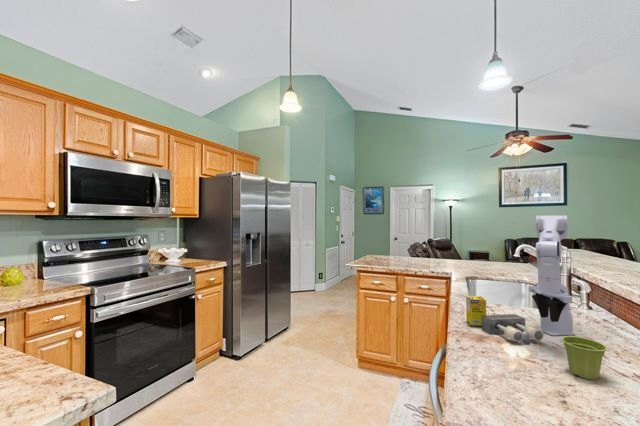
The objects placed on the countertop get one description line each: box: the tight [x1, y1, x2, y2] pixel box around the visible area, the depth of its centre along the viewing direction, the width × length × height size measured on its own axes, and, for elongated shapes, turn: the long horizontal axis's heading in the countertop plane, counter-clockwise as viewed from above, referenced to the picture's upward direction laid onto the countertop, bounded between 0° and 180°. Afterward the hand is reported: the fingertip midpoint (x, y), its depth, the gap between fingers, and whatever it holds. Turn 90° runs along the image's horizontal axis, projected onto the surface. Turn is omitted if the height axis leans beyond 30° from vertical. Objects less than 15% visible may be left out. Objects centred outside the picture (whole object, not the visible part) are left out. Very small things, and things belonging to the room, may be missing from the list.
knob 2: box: [514, 323, 545, 342], centre depth 108 cm, size 4×10×4 cm, turn 6°
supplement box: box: [465, 295, 487, 329], centre depth 122 cm, size 6×6×11 cm
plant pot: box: [561, 335, 608, 380], centre depth 83 cm, size 9×9×9 cm
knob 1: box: [495, 323, 523, 343], centre depth 108 cm, size 4×10×4 cm, turn 6°
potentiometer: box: [519, 332, 531, 345], centre depth 104 cm, size 4×3×4 cm
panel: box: [481, 313, 526, 336], centre depth 115 cm, size 14×5×6 cm, turn 96°
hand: (549, 319), depth 99 cm, fingers open, 3 cm apart
